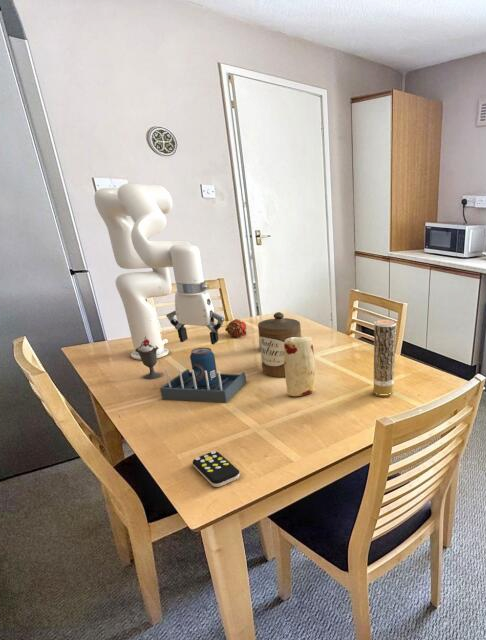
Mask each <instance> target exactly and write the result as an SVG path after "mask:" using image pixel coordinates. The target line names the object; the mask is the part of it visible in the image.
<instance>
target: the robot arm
mask: <svg viewBox="0 0 486 640" xmlns="http://www.w3.org/2000/svg"><path fill="white" fill-rule="evenodd" d="M93 197H94V199H93V200H94V203H95V207H96V210H97V212H98V213H99V215H100V217H101V219H102V220H103V222H104V224H105V226H106V229H107V231H108V236H109V240H110V241H109V242H110V244H111V249H112V253H113V257H114V260H115V263H116V265H117V266H118V267H119V268H121V269H125V270H138V269H139V270H141V269H152V270H151V271H135V272H126V273H122V274H119V275H118V276H117V277H116V279H115V286H116V289H117V292H118V294H119V297H120V299H121V302H122V305H123V308H124V311H125V315H126V316H125V317H126V319H127V324H128V328H129V332H130V337H131V341H132V344H133V349H134V350H133V351H132V352H131V353H130V357H131V359H135V360H139V361H142V360H141V357H140V355H139V353H138V352H136V351H135V350H136V349H137V348H138V347H140V346H141V343H142V342H143V341H144V339H145V336H146V339H148V340H149V341H150V342H152V344H153V345H155V346H157V347H158V348H159V349H157V353H156V355H157V359H160V358H163V357H166V356H167V355H169V353H170V352H169V349H168V348H166V347H165V345H166V344H167V343H169V340H168V339H167V338H163V339H162V335H161V331H160V330H161V329H160V326H159V325H160V324H159V321H158V315H157V310H156V308H155V307H154V306H153V305H152V304H150V303H149V302H148V301H147V299H151V298H160V297H161V298H162V297H167V296H169V295H170V294H171V293H172V290H173V287H172V279H171V275H170V274H171V273H170V269H169V268H172V269H173V276H174V282H175V287H176V291H175V293H174V309H175V310H173V311H171V312H169V313H166V314H165V316H166V318H167V320H168V321H169V322H170V324H171V325H172V326H173V327H174V329H175V330H177V334H178V338H179V342H180V343H184V342H186V341H187V340H188V338H189V337H188V332H187V328H186V327H185V326H195V327H196V326H199V327H206V328H208V329H209V330H210V331H209V337H210V343H211V345H215V344H217V343H218V342H219V332H218V331H219V329H220V328H221V327H222V326H223V324H224V321H225V317H224V316H222V315H220V314H218V313H216V312H215V308H214V305H213V302H212V298H211V296H210V293H209V290H210V285H209V284H206V282H205V280H204V279H205V278H204V272H203V266H202V259H201V252H200V249H199V247H198V246H197V245H195V244H191V243H190V242H188V241H186V240H148V239H149V238H152V237H154V236H156V235H158V234H160V233H161V232H163V231H164V230H165V229H166V227H167V221H168V220H167V217H166V216H165V215H167V214H169V213H170V212H171V211H172V209H173V204H174V203H173V198H172V196H171V194H170V192H169V191H168V190H167V189H166V188H165V187H164V186H163V185H159V184H151V183H137V182H128V183H124V184H122V185H120V186H119V187H103V188H99V189H97V190H96V191H95V192H94V196H93ZM129 217H130V218H131V219H132V220H131V219H130V218H129ZM207 290H208V291H207ZM175 317H176V318H175ZM216 321H217V322H216ZM146 339H145V340H146Z"/></svg>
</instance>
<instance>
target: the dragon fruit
mask: <svg viewBox="0 0 486 640" xmlns="http://www.w3.org/2000/svg"><path fill="white" fill-rule="evenodd" d="M225 332H227V334H228V335H229V336H231V337H235V338H241V337H242V336H246V335H247V324H246V322H245V321H243V320H242V321H241V319H238V318H235V319H234V320H231V321H229V323H228V324H227V325H226V327H225Z"/></svg>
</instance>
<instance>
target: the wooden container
mask: <svg viewBox="0 0 486 640" xmlns="http://www.w3.org/2000/svg"><path fill="white" fill-rule="evenodd" d="M284 315H285V314H284V313H282V312H281V311H277V312H275V313H274V314H273V318H269V319H265V320H261V321H259V322H258V324H257V329H258V330H257V331H258V337H259V336H260V343H259V344H260V345H259V348H260V347H261V349H260V357H261V365H262V366H261V367H262V371H263V373H264V374H265V375H267V376H269V377H275V378H285V366H284V342H285V340H286V339H288V338H291V337H302V329H301V328H302V327H301V322H300V321H299V320H297V319H294V318H287V317H285V316H284Z"/></svg>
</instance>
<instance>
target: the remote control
mask: <svg viewBox="0 0 486 640" xmlns="http://www.w3.org/2000/svg"><path fill="white" fill-rule="evenodd" d="M192 466H193V468H195V470H197V472H198V473H200V475H201V476H202V477H204V479H205V480H206V481H207V482H208V483H209V484H210V485H211V486H213V487H215V488H219V487H223V486H225V485H227V484H230V483H232V482H234V481H236V480H237V479H239V478H240V475H241V474H240V470H239V468H237V467H236V466H234V465H233V463H231V462H230V461H229V460H228V459H227V458H226V457H225V456H223V454H221V453H220V452H219V451H214V450H213V451H210V452H207V453H205V454H203V455H200V456H197V457H195V458H194V459H193V460H192Z"/></svg>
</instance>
